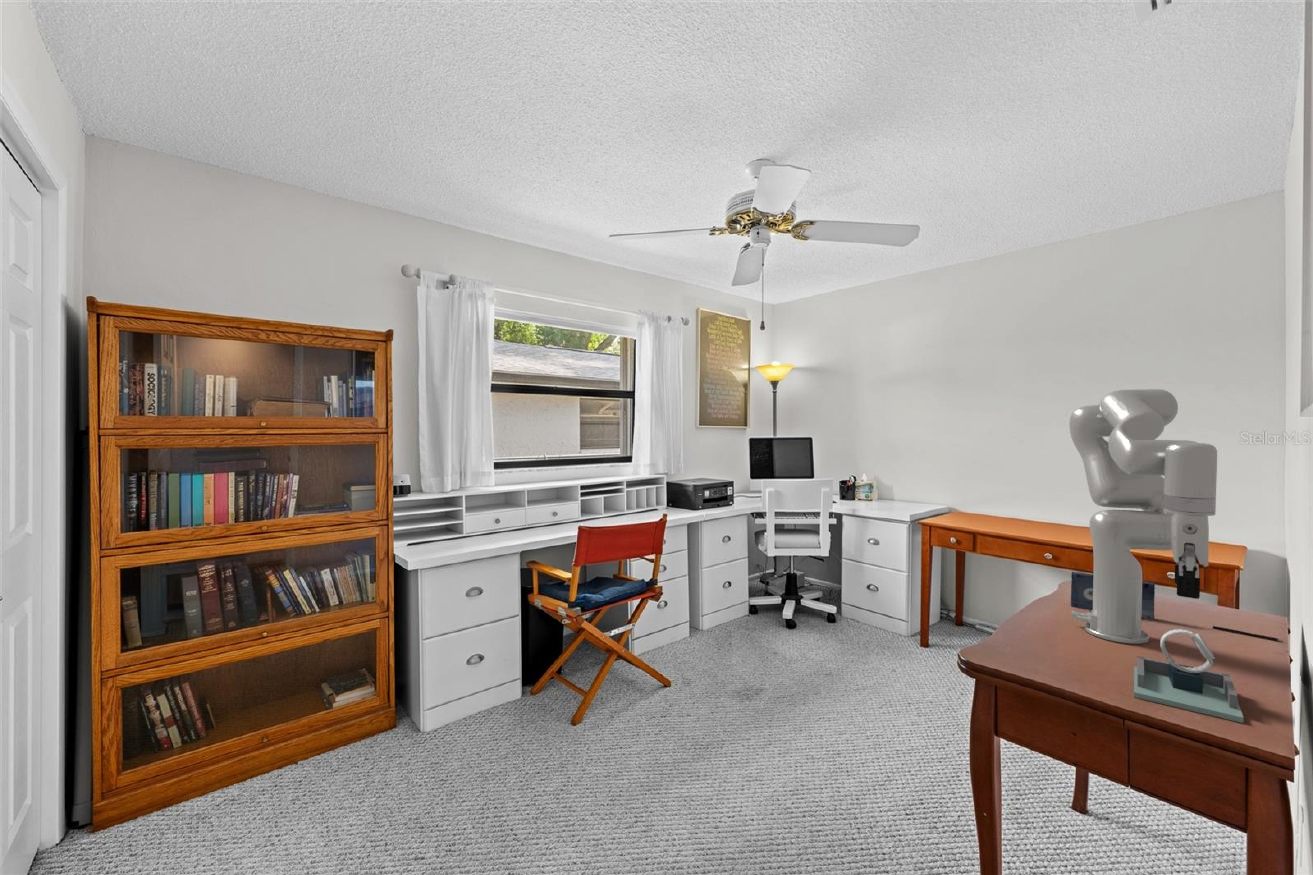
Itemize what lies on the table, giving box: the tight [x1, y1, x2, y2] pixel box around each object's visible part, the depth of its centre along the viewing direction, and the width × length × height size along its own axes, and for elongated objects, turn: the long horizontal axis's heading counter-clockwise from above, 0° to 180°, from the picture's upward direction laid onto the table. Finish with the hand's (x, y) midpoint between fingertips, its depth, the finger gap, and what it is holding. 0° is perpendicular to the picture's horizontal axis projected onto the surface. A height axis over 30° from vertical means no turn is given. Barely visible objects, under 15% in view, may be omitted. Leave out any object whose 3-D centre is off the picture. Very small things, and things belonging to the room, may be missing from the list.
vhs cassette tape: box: [1070, 570, 1156, 621], centre depth 159 cm, size 18×3×10 cm, turn 49°
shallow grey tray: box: [1133, 656, 1245, 724], centre depth 112 cm, size 15×15×4 cm
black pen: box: [1212, 625, 1284, 643], centre depth 142 cm, size 12×1×1 cm, turn 40°
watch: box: [1159, 628, 1216, 694], centre depth 113 cm, size 6×8×11 cm
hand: (1186, 590), depth 112 cm, fingers open, 9 cm apart
